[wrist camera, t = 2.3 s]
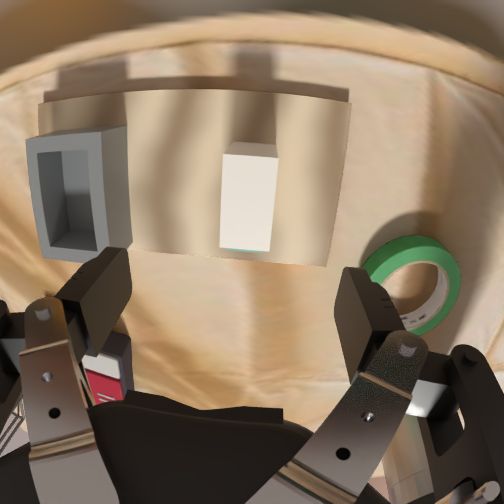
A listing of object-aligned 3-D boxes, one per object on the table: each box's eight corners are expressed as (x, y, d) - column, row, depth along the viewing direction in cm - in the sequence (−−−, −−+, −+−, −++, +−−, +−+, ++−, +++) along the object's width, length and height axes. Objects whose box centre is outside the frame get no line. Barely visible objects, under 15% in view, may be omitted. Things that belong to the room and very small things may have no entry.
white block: (276, 144, 23) (278, 158, 18) (268, 221, 26) (268, 255, 21) (233, 141, 23) (223, 153, 18) (229, 218, 26) (219, 251, 21)
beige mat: (348, 103, 22) (351, 103, 21) (324, 261, 28) (326, 266, 28) (44, 103, 22) (38, 104, 22) (56, 238, 29) (52, 242, 28)
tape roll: (348, 331, 32) (353, 347, 30) (357, 236, 28) (364, 249, 25) (437, 319, 32) (446, 334, 29) (458, 231, 27) (471, 243, 24)
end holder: (127, 125, 23) (101, 131, 19) (133, 242, 27) (112, 266, 23) (56, 130, 23) (25, 139, 19) (67, 236, 27) (42, 257, 23)
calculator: (64, 400, 37) (38, 333, 30) (74, 380, 41) (54, 310, 34) (130, 424, 38) (119, 361, 31) (138, 401, 42) (131, 334, 34)
